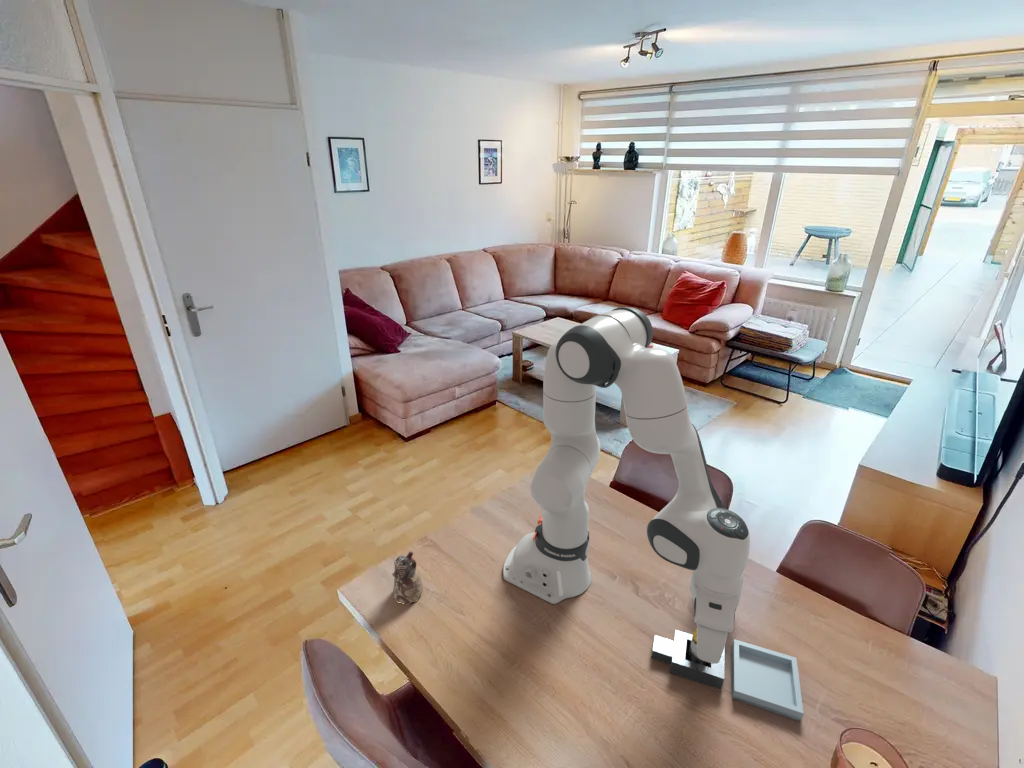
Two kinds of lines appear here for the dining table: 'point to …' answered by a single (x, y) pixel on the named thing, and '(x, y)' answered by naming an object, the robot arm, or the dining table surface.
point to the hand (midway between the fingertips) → (705, 636)
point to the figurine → (406, 580)
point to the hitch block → (675, 656)
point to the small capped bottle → (694, 650)
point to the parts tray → (766, 679)
